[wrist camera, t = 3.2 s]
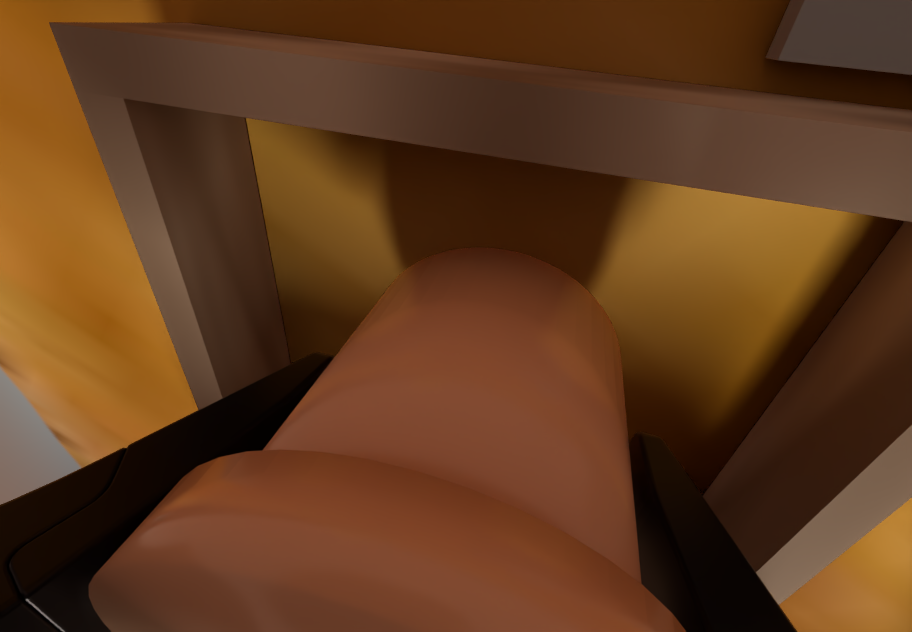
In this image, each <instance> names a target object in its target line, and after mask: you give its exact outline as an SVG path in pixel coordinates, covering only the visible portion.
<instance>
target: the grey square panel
mask: <svg viewBox="0 0 912 632" xmlns="http://www.w3.org/2000/svg"><path fill="white" fill-rule="evenodd" d="M766 58H769V59H774V60H780V61H789V62H798V63H807V64H817V65H826V66H835V67H844V68H853V69H862V70H872V71H881V72H890V73H899V74H908V75H912V0H790V2H789V4H788V7H787V9H786V11H785V14H784V16H783V18H782V21H781V23H780V25H779V28H778V30H777V32H776V34H775V37H774V39H773V41H772V44H771V46H770V48H769V51H768V53H767V55H766Z"/></svg>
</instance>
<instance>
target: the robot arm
mask: <svg viewBox="0 0 912 632" xmlns="http://www.w3.org/2000/svg"><path fill="white" fill-rule="evenodd" d="M333 358H334V356H332V355H328V354H324V353H320V352H315V353H312V354H310V355H308V356H306V357H304V358H302V359H300V360H298V361H296V362H294V363H292V364H290V365H288V366H286V367H284V368H282V369H280V370H278V371H276V372H274V373H272V374H270V375H268V376H266V377H264V378H262V379H260V380H258V381H256V382H254V383H252V384H250V385H248V386H246V387H244V388H242V389H240V390H238V391H236V392H234V393H232V394H230V395H228V396H226V397H224V398H222V399H220V400H218V401H216V402H214V403H212V404H210V405H208V406H206V407H204V408H202V409H200V410H198V411H196V412H194V413H192V414H190V415H188V416H186V417H184V418H182V419H180V420H178V421H176V422H174V423H172V424H170V425H168V426H166V427H164V428H162V429H160V430H158V431H156V432H154V433H152V434H150V435H148V436H146V437H144V438H142V439H140V440H138V441H136V442H134V443H132V444H130V445H129V446H128V447H127V448H122V449H120V450H118V451H116V452H114V453H112V454H110V455H108V456H106V457H104V458H102V459H100V460H98V461H95V462H93V463H91V464H89V465H87V466H85V467H83V468H81V469H79V470H77V471H75V472H73V473H70V474H68V475H67V476H64V477H62V478H60V479H58V480H56V481H54V482H51V483H49V484H47V485H45V486H42V487H40V488H38V489H36V490H33V491H31V492H29V493H26V494H24V495H22V496H20V497H18V498H15V499H13V500H11V501H9V502H6V503H4V504H1V505H0V632H111V631H110V630H109V628H108V627H107V626H106V625H105V624H104V623H103V622H102V620H101V619H100V617H99V616H98V614H97V613H96V611H95V610H94V608H93V606H92V603H91V601H90V598H89V583H90V582H91V580H92V578H93V577H94V575H95V574H96V573H97V572H98V571H99V570H100V568H101V567H102V566H103V565H104V564H105V563H106V562H107V561H108V560H109V558H110V557H111V556H112V555H113V554H114V553H115V552H116V551H117V550H118V549H119V547H120V546H121V545H122V544H123V543H124V542H125V541H126V540H127V539H128V537H129V536H130V535H131V534H132V533H133V532H134V531H135V530H136V529H137V527H138V526H139V525H140V524H141V523H142V522H143V521H144V520H145V519H146V517H147V516H148V515H149V514H150V513H151V512H152V511H153V510H154V509H155V507H156V506H157V505H158V504H159V503H160V502H161V501H162V500H163V499H164V498H165V496H166V495H167V494H168V493H169V492H170V491H171V490H172V489H173V488H174V486H175V485H176V484H177V483H178V482H179V481H180V480H181V479H182V478H183V477H184V476H185V475H186V474H188V473H189V472H190V471H192V470H193V469H194V468H196V467H197V466H199V465H201V464H204V463H206V462H209V461H211V460H213V459H216V458H218V457H222V456H227V455H232V454H237V453H242V452H246V451H262V450H263V449H264V448H265V446H266V445H267V444H268V442H269V441H270V440H271V438H272V437H273V436H274V435H275V433H276V432H277V431H278V429H279V428H280V427H281V426H282V424H283V423H284V422H285V420H286V419H287V418H288V416H289V415H290V414H291V413H292V411H293V410H294V409H295V407H296V406H297V405H298V404H299V402H300V401H301V400H302V398H303V397H304V396H305V394H306V393H307V392H308V391H309V389H310V388H311V387H312V385H313V384H314V383H315V382H316V380H317V379H318V378H319V376H320V375H321V374H322V372H323V371H324V370H325V369H326V367H327V366H328V365H329V363H330V362H331V361H332V360H333ZM629 451H630V462H631V473H632V484H633V495H634V506H635V517H636V528H637V539H638V550H639V561H640V572H641V583H642V585H643V586H644V587H645V588H646V589H648V590H649V591H650V592H651V593H652V594H653V595H654V596H655V597H656V598H657V599H658V600H659V601H660V602H661V603H662V604H663V605H664V606H665V607H666V608H667V609H668V610H669V611H670V612H672V614H673V615H674V616H675V618H676V619H677V620H678V621H679V623H680V624H681V625H682V627H683V628H684V629H685V630H686V632H797V630H796V629H795V628H794V626H793V625H792V623H791V622H790V620H789V619H788V618H787V616H786V615H785V613H784V612H783V610H782V609H781V608H780V606H779V605H778V603H777V602H776V600H775V599H774V598H773V596H772V595H771V593H770V592H769V590H768V589H767V588H766V586H765V585H764V583H763V582H762V580H761V579H760V577H759V576H758V575H757V573H756V572H755V570H754V569H753V567H752V566H751V565H750V563H749V562H748V560H747V559H746V557H745V556H744V555H743V553H742V552H741V550H740V549H739V547H738V546H737V545H736V543H735V542H734V540H733V539H732V537H731V536H730V535H729V533H728V532H727V530H726V529H725V527H724V526H723V525H722V523H721V522H720V520H719V519H718V517H717V516H716V515H715V513H714V512H713V510H712V509H711V507H710V506H709V504H708V503H707V502H706V500H705V499H704V497H703V496H702V494H701V493H700V492H699V490H698V489H697V487H696V486H695V484H694V483H693V482H692V480H691V479H690V477H689V476H688V474H687V473H686V472H685V470H684V469H683V467H682V466H681V464H680V463H679V462H678V460H677V459H676V457H675V456H674V454H673V453H672V452H671V450H670V449H669V447H668V446H667V444H666V443H665V442H664V440H663V439H662V438H661V437H659V436H656V435H652V434H648V433H644V432H636V433H635V434H634V436H633V438H632V440H631V442H630V444H629Z"/></svg>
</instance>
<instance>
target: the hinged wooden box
mask: <svg viewBox="0 0 912 632" xmlns="http://www.w3.org/2000/svg"><path fill="white" fill-rule="evenodd" d="M49 24H50V26H51V29H52V32H53V34H54V37H55V39H56V42H57V45H58V47H59V50H60V52H61V55H62V57H63V60H64V63H65V65H66V68H67V70H68V73H69V76H70V78H71V81H72V83H73V86H74V89H75V91H76V94H77V96H78V99H79V101H80V104H81V107H82V109H83V112H84V114H85V117H86V120H87V122H88V125H89V127H90V130H91V133H92V135H93V138H94V140H95V143H96V146H97V148H98V151H99V153H100V156H101V158H102V161H103V164H104V166H105V169H106V171H107V174H108V177H109V179H110V182H111V184H112V187H113V190H114V192H115V195H116V197H117V200H118V202H119V205H120V208H121V210H122V213H123V215H124V218H125V221H126V223H127V226H128V228H129V231H130V234H131V236H132V239H133V241H134V244H135V246H136V249H137V252H138V254H139V257H140V259H141V262H142V265H143V267H144V270H145V272H146V275H147V278H148V280H149V283H150V285H151V288H152V290H153V293H154V296H155V298H156V301H157V303H158V306H159V309H160V311H161V314H162V316H163V319H164V322H165V324H166V327H167V329H168V332H169V334H170V337H171V340H172V342H173V345H174V347H175V350H176V353H177V355H178V358H179V360H180V363H181V366H182V368H183V371H184V373H185V376H186V378H187V381H188V384H189V386H190V389H191V391H192V394H193V397H194V399H195V402H196V404H197V407H198V410H200V409H202V408H204V407H206V406H208V405H210V404H212V403H214V402H216V401H218V400H220V399H222V398H224V397H226V396H228V395H230V394H232V393H234V392H236V391H238V390H240V389H242V388H244V387H246V386H248V385H250V384H252V383H254V382H256V381H258V380H260V379H262V378H264V377H266V376H268V375H270V374H272V373H274V372H276V371H278V370H280V369H282V368H284V367H286V366H288V365H290V364H291V363H290V358H289V352H288V347H287V342H286V336H285V331H284V326H283V320H282V315H281V310H280V304H279V299H278V294H277V288H276V283H275V278H274V272H273V267H272V262H271V256H270V251H269V246H268V240H267V235H266V229H265V224H264V219H263V213H262V208H261V203H260V197H259V192H258V187H257V181H256V176H255V171H254V165H253V160H252V155H251V149H250V144H249V139H248V133H247V128H246V123H245V118H251V119H258V120H264V121H271V122H277V123H283V124H290V125H296V126H302V127H309V128H315V129H322V130H328V131H334V132H341V133H347V134H354V135H360V136H366V137H373V138H379V139H385V140H392V141H398V142H405V143H411V144H417V145H424V146H430V147H437V148H443V149H449V150H456V151H462V152H468V153H475V154H481V155H488V156H494V157H500V158H507V159H513V160H520V161H526V162H532V163H539V164H545V165H551V166H558V167H564V168H571V169H577V170H583V171H590V172H596V173H603V174H609V175H615V176H622V177H628V178H635V179H641V180H647V181H654V182H660V183H666V184H673V185H679V186H686V187H692V188H698V189H705V190H711V191H718V192H724V193H730V194H737V195H743V196H749V197H756V198H762V199H769V200H775V201H781V202H788V203H794V204H801V205H807V206H813V207H820V208H826V209H832V210H839V211H845V212H852V213H858V214H864V215H871V216H877V217H884V218H890V219H896V220H903V221H904V223H903V224H902V226H901V227H900V228H899V230H898V231H897V232H896V234H895V235H894V236H893V238H892V239H891V240H890V242H889V243H888V245H887V246H886V247H885V249H884V250H883V251H882V253H881V254H880V255H879V257H878V258H877V260H876V261H875V262H874V264H873V265H872V266H871V268H870V269H869V270H868V272H867V273H866V274H865V276H864V277H863V279H862V280H861V281H860V283H859V284H858V285H857V287H856V288H855V289H854V291H853V292H852V294H851V295H850V296H849V298H848V299H847V300H846V302H845V303H844V304H843V306H842V307H841V308H840V310H839V311H838V313H837V314H836V315H835V317H834V318H833V319H832V321H831V322H830V323H829V325H828V326H827V328H826V329H825V330H824V332H823V333H822V334H821V336H820V337H819V338H818V340H817V341H816V342H815V344H814V345H813V347H812V348H811V349H810V351H809V352H808V353H807V355H806V356H805V357H804V359H803V360H802V362H801V363H800V364H799V366H798V367H797V368H796V370H795V371H794V372H793V374H792V375H791V377H790V378H789V379H788V381H787V382H786V383H785V385H784V386H783V387H782V389H781V390H780V391H779V393H778V394H777V396H776V397H775V398H774V400H773V401H772V402H771V404H770V405H769V406H768V408H767V409H766V411H765V412H764V413H763V415H762V416H761V417H760V419H759V420H758V421H757V423H756V424H755V425H754V427H753V428H752V430H751V431H750V432H749V434H748V435H747V436H746V438H745V439H744V440H743V442H742V443H741V445H740V446H739V447H738V449H737V450H736V451H735V453H734V454H733V455H732V457H731V458H730V459H729V461H728V462H727V464H726V465H725V466H724V468H723V469H722V470H721V472H720V473H719V474H718V476H717V477H716V479H715V480H714V481H713V483H712V484H711V485H710V487H709V488H708V489H707V491H706V492H705V494H704V495H703V497H704V499H705V500H706V502H707V503H708V504H709V506H710V507H711V509H712V510H713V512H714V513H715V515H716V516H717V517H718V519H719V520H720V522H721V523H722V525H723V526H724V527H725V529H726V530H727V532H728V533H729V535H730V536H731V537H732V539H733V540H734V542H735V543H736V545H737V546H738V547H739V549H740V550H741V552H742V553H743V555H744V556H745V557H746V559H747V560H748V562H749V563H750V565H751V566H752V567H753V569H754V570H755V572H756V573H757V575H758V576H759V577H760V579H761V580H762V582H763V583H764V585H765V586H766V588H767V589H768V590H769V592H770V593H771V595H772V596H773V598H774V599H775V600H776V602H777V603H778V605H779V604H780V603H782V602H783V601H784V600H785V599H787V598H788V597H789V596H790V595H792V594H793V593H794V592H795V591H797V590H798V589H799V588H800V587H802V586H803V585H804V584H805V583H806V582H808V581H809V580H810V579H811V578H813V577H814V576H815V575H816V574H818V573H819V572H820V571H821V570H823V569H824V568H825V567H826V566H828V565H829V564H830V563H831V562H832V561H834V560H835V559H836V558H837V557H839V556H840V555H841V554H842V553H844V552H845V551H846V550H847V549H849V548H850V547H851V546H852V545H853V544H855V543H856V542H857V541H858V540H860V539H861V538H862V537H863V536H865V535H866V534H867V533H868V532H870V531H871V530H872V529H873V528H875V527H876V526H877V525H878V524H879V523H881V522H882V521H883V520H884V519H886V518H887V517H888V516H889V515H891V514H892V513H893V512H894V511H896V510H897V509H898V508H899V507H901V506H902V505H903V504H904V503H905V502H907V501H908V500H909V499H910V498H912V110H907V109H899V108H891V107H882V106H874V105H866V104H857V103H849V102H841V101H832V100H824V99H816V98H808V97H799V96H791V95H783V94H774V93H766V92H758V91H749V90H741V89H733V88H724V87H716V86H708V85H700V84H691V83H683V82H675V81H666V80H658V79H650V78H641V77H633V76H625V75H616V74H608V73H600V72H591V71H583V70H575V69H567V68H558V67H550V66H542V65H533V64H525V63H517V62H508V61H500V60H492V59H483V58H475V57H467V56H459V55H450V54H442V53H434V52H425V51H417V50H409V49H400V48H392V47H384V46H375V45H367V44H359V43H350V42H342V41H334V40H326V39H317V38H309V37H301V36H292V35H284V34H276V33H267V32H259V31H251V30H242V29H234V28H226V27H218V26H209V25H201V24H193V23H64V22H49Z"/></svg>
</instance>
